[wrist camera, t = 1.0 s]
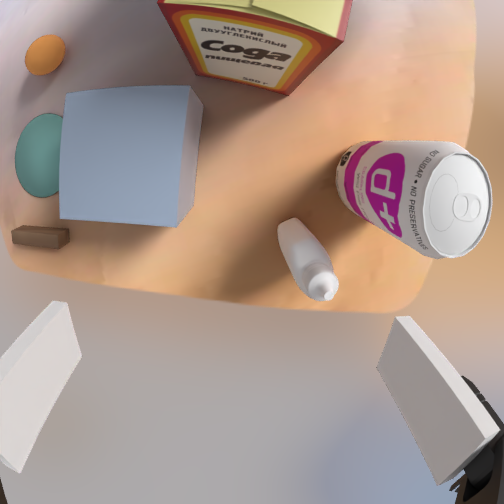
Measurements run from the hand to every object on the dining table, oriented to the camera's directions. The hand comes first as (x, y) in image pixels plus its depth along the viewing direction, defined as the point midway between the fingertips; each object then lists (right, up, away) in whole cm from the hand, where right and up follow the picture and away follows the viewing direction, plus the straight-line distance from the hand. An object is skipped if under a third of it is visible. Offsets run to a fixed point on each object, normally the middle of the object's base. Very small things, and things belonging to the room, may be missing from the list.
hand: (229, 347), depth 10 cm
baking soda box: (+1, +23, +14) cm, 27 cm away
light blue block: (-10, +13, +16) cm, 23 cm away
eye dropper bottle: (+5, +5, +20) cm, 22 cm away
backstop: (-25, +6, +18) cm, 31 cm away
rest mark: (-23, +15, +15) cm, 31 cm away
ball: (-22, +25, +9) cm, 34 cm away
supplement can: (+13, +11, +18) cm, 25 cm away
